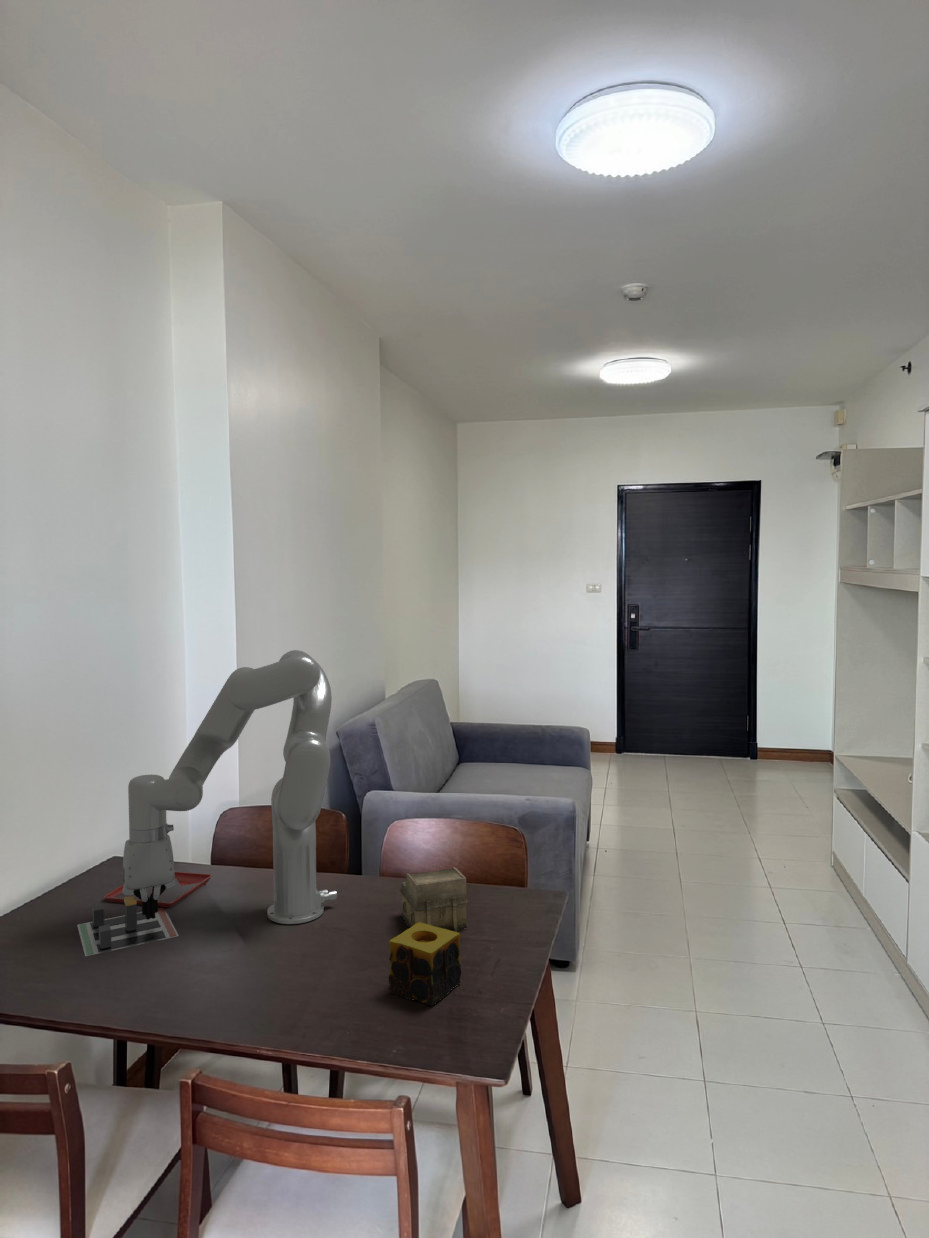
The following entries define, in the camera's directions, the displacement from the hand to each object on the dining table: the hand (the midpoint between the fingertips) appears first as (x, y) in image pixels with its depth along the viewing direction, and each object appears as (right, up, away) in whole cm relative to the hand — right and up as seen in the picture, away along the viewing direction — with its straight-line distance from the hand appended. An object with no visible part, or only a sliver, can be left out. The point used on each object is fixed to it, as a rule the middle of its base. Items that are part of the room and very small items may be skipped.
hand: (150, 916), depth 178 cm
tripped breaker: (-3, -2, -2) cm, 4 cm away
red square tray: (-5, -3, +20) cm, 21 cm away
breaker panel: (-4, -4, -2) cm, 6 cm away
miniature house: (+62, -3, +5) cm, 62 cm away
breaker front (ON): (-5, -3, -10) cm, 12 cm away
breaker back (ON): (-11, -2, 0) cm, 12 cm away
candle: (+61, -5, -24) cm, 66 cm away
